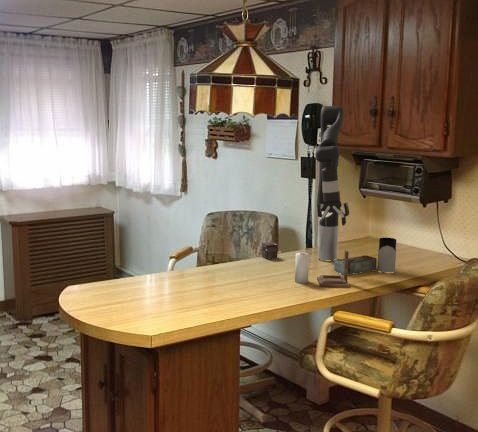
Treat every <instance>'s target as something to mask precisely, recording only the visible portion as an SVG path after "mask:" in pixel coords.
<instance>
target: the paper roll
mask: <svg viewBox="0 0 478 432" xmlns="http://www.w3.org/2000/svg"><path fill="white" fill-rule="evenodd" d="M309 263H310V253H308V252H296V253H295V262H294V264H295V266H294V267H295V269H294V270H295V272H294V282H295V283H298V284H308V283H309V265H310V264H309Z"/></svg>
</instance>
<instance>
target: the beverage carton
mask: <svg viewBox="0 0 478 432" xmlns="http://www.w3.org/2000/svg"><path fill="white" fill-rule="evenodd" d="M333 262H334V263H333V264H334V267H333V270H334V271H336V272H338V273H337V274H339V273H341V274H343V275H342V276H344V258H341V259H340V258H337V260H334V261H333ZM377 264H378V258H376V257H373V256H371V255H360V256H354V257H348V274H351V275H354V274H353V273H358V274H361V273H360V272H364V273H368V272H367V271H371V272H373V271H372V270H377ZM336 272H335V273H336ZM341 274H340V275H341Z"/></svg>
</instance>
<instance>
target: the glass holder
mask: <svg viewBox="0 0 478 432" xmlns="http://www.w3.org/2000/svg"><path fill="white" fill-rule="evenodd" d="M378 244H379V245H378V251H377V252H378V254H377V267H376V270H378V271H381V272H395V271H396V262H397V260H396V258H397V256H396V255H397V239H396V238H394V237H380V238H379V241H378ZM396 272H397V271H396Z"/></svg>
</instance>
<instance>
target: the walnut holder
mask: <svg viewBox="0 0 478 432" xmlns="http://www.w3.org/2000/svg"><path fill="white" fill-rule="evenodd" d="M349 253H350V252H349V250H346V249H345V250H344V255H343V256H344V257H343V259H344V275H341V274H339V275H338V274H337V275H336V274H335V275H331V274H330V275H329V274H326V275H325V274H320V275H319V276H317V277H316V280H317V284H318V285H319V287H320V288H345V289H346V288H349V289H350V283H349V281H348V277H349V275H348V258H349V255H350V254H349Z"/></svg>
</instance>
